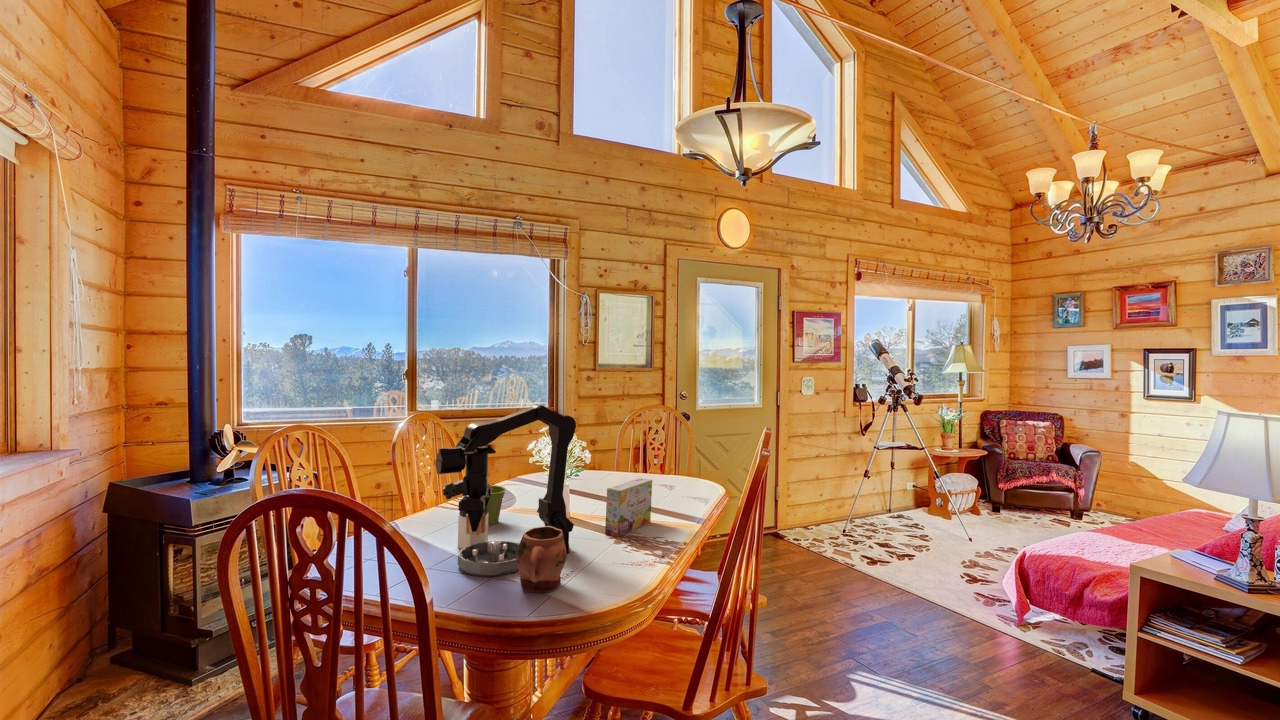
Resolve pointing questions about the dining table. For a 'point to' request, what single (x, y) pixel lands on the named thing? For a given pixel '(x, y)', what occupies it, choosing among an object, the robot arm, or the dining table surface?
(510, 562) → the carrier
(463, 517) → the jar
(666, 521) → the dining table surface
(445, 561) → the dining table surface
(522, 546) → the terracotta mug
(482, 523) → the bronze pinion
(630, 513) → the snack box
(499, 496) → the plant pot
